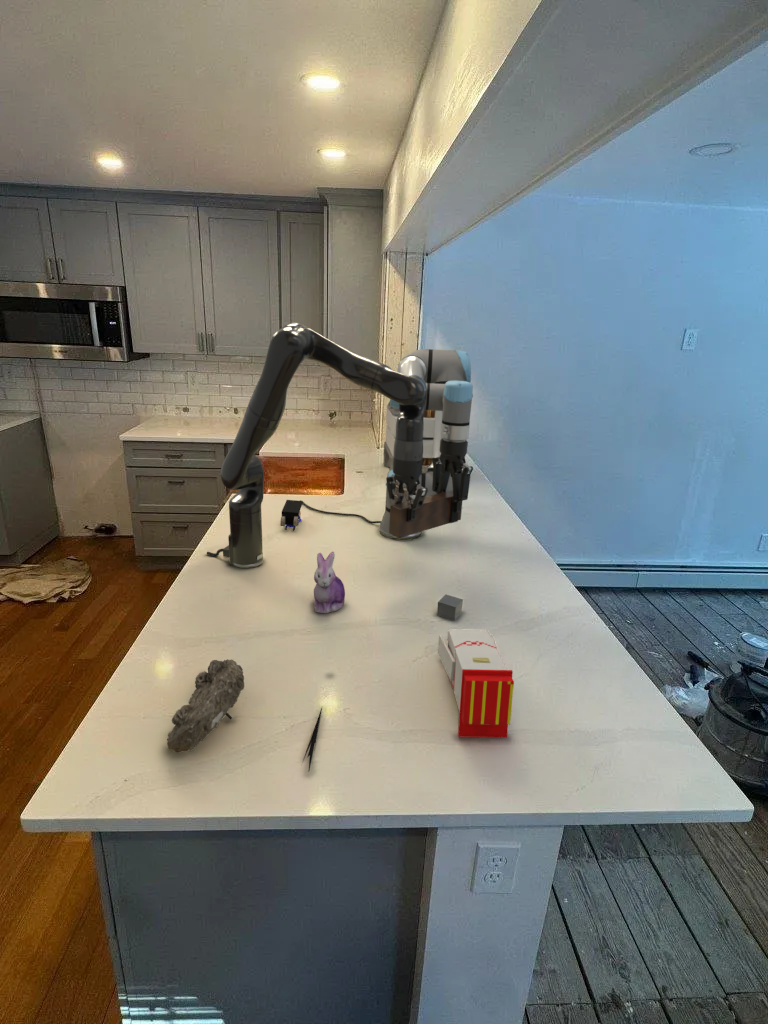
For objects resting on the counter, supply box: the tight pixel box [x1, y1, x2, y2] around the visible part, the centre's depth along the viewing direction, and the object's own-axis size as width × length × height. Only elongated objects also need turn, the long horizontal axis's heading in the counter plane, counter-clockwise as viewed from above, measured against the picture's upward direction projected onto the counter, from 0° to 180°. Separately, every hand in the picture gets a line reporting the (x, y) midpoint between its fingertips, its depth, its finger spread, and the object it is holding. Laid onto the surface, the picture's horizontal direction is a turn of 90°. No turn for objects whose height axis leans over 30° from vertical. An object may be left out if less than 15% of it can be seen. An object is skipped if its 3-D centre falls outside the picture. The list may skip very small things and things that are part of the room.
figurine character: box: [279, 499, 304, 532], centre depth 202 cm, size 7×8×15 cm
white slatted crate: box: [383, 400, 435, 472], centre depth 268 cm, size 34×33×41 cm
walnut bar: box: [389, 490, 463, 538], centre depth 156 cm, size 24×4×8 cm, turn 131°
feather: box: [301, 673, 332, 771], centre depth 108 cm, size 2×28×2 cm
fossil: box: [166, 658, 245, 754], centre depth 106 cm, size 22×10×15 cm
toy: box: [437, 628, 515, 738], centre depth 117 cm, size 12×13×30 cm
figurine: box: [313, 551, 346, 614], centre depth 147 cm, size 9×10×15 cm
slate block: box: [436, 593, 464, 621], centre depth 148 cm, size 5×5×4 cm
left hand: (404, 518), depth 150 cm, fingers closed on walnut bar, 4 cm apart
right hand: (447, 519), depth 162 cm, fingers closed on walnut bar, 4 cm apart
